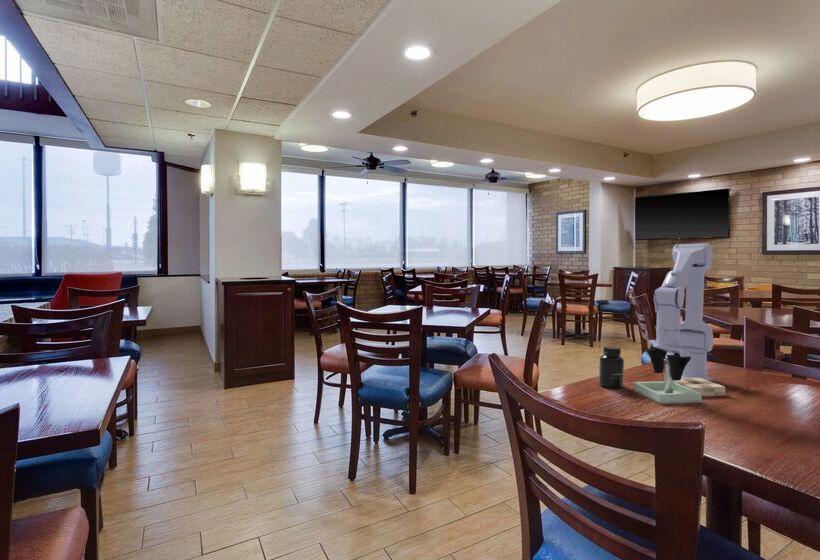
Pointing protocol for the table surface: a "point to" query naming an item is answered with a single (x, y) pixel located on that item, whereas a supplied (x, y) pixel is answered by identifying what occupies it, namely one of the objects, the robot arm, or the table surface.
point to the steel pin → (668, 378)
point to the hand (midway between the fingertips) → (667, 376)
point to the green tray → (657, 393)
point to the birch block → (702, 386)
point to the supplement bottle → (611, 368)
